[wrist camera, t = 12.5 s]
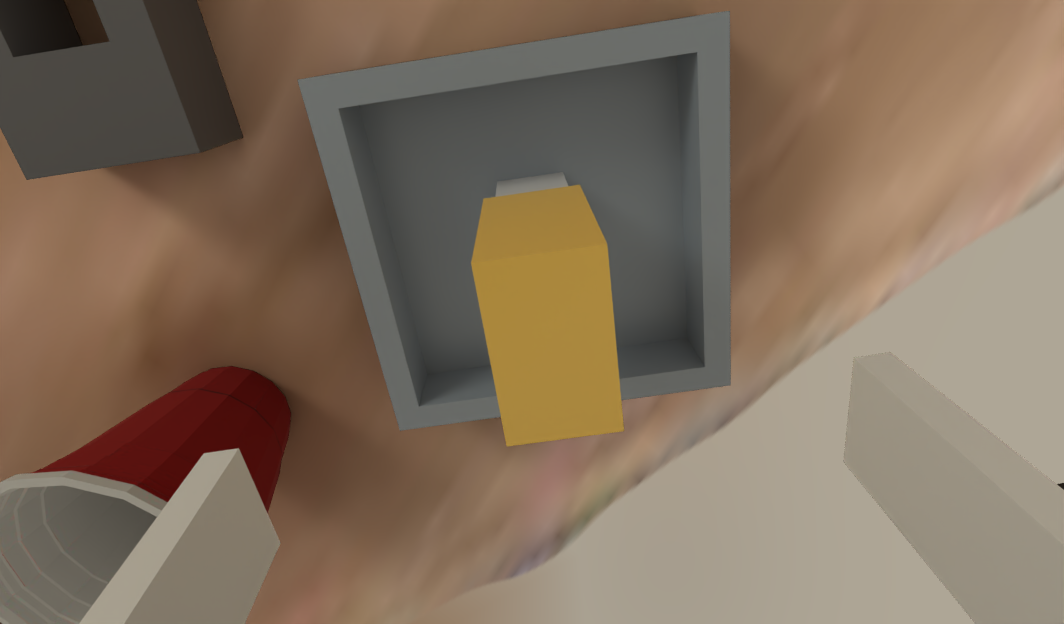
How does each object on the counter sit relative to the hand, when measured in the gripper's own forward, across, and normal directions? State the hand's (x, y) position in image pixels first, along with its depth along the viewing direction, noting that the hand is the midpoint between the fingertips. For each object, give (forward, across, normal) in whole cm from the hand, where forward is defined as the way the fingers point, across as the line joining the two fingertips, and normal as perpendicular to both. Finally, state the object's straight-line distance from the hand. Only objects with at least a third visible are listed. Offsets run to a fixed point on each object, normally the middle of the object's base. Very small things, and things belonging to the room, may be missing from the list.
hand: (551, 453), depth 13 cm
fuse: (+16, +1, 0) cm, 16 cm away
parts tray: (+17, +1, 0) cm, 17 cm away
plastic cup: (+18, -17, -8) cm, 26 cm away
